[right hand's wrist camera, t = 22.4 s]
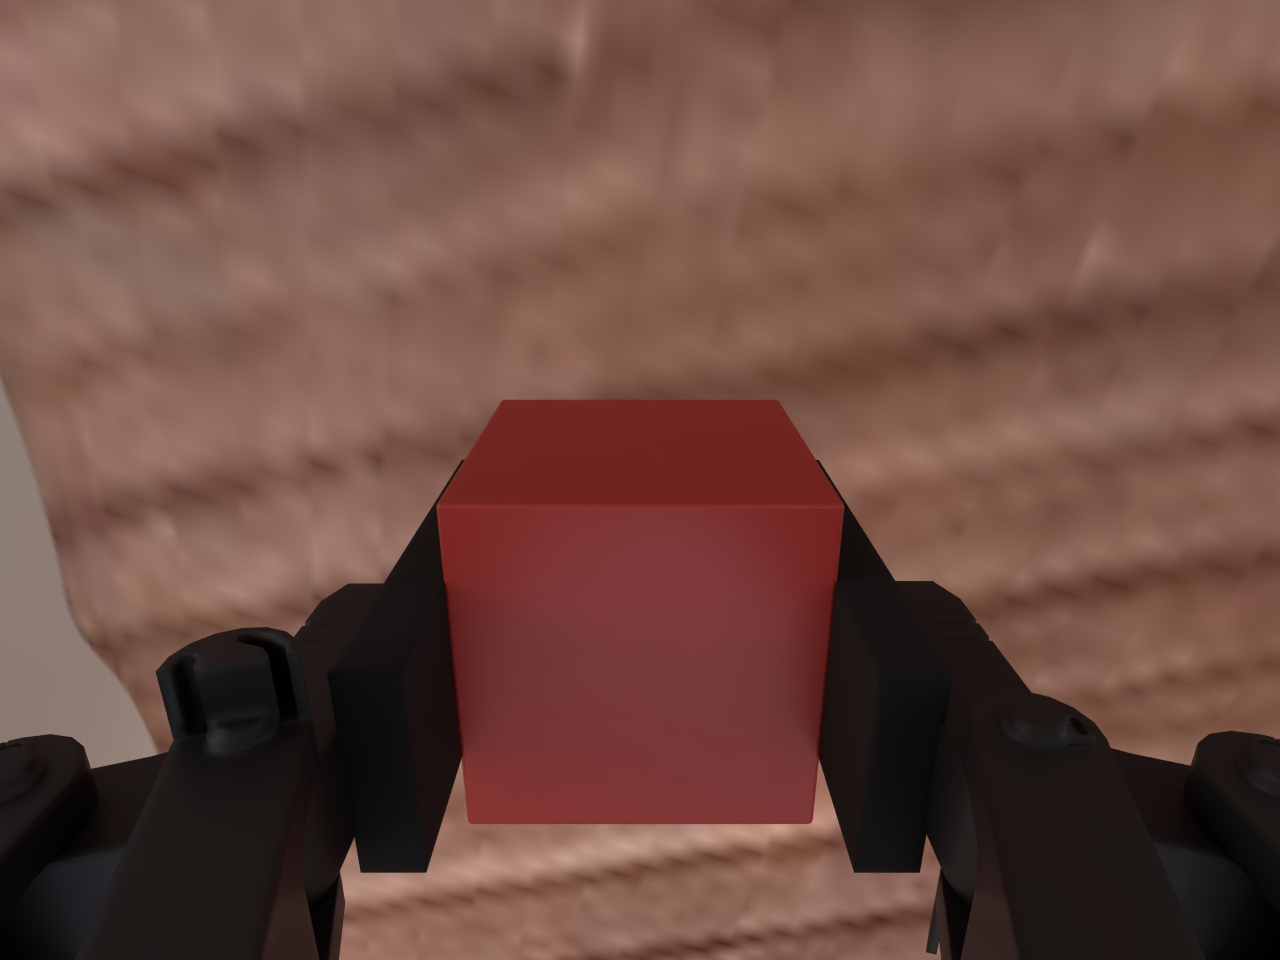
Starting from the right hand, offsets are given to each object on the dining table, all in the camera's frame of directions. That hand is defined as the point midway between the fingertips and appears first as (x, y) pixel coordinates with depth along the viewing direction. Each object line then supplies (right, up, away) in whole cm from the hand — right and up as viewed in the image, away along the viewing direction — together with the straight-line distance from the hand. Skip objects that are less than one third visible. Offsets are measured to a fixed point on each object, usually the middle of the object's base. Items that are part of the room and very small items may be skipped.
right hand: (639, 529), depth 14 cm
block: (0, 0, 0) cm, 0 cm away
